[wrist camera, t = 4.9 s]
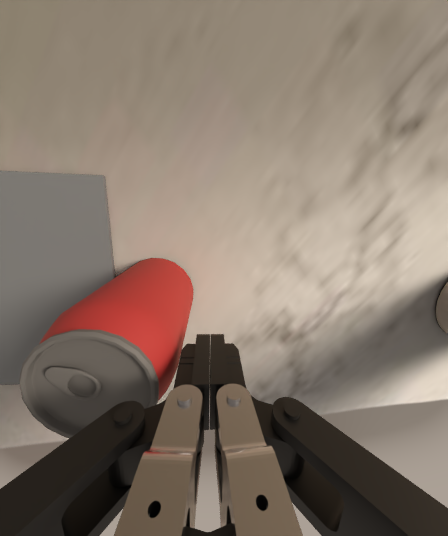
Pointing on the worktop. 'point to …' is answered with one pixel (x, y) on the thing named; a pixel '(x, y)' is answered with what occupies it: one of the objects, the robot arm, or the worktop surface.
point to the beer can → (110, 348)
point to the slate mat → (47, 255)
